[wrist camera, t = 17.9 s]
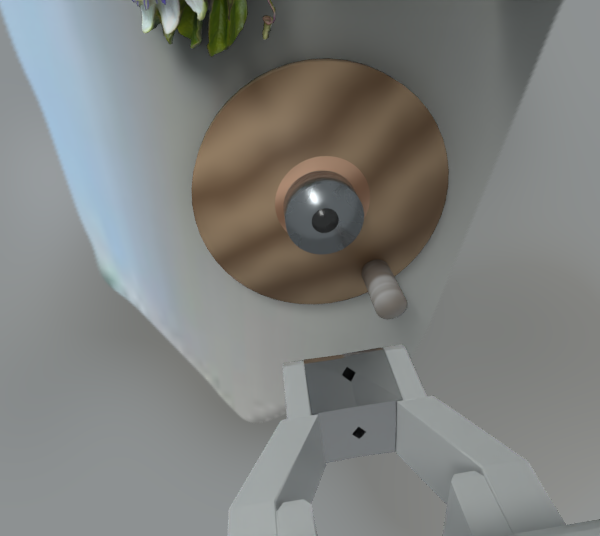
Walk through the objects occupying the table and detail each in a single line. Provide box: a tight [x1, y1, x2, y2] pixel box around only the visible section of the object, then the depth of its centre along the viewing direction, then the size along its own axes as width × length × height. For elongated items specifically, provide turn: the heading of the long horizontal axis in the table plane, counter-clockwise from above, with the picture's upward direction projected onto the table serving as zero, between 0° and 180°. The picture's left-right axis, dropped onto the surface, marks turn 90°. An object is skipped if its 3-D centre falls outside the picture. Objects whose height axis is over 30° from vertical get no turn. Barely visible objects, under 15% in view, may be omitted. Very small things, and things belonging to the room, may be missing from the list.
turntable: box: [192, 58, 449, 319], centre depth 38 cm, size 24×24×8 cm
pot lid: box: [283, 170, 364, 254], centre depth 38 cm, size 7×7×3 cm
